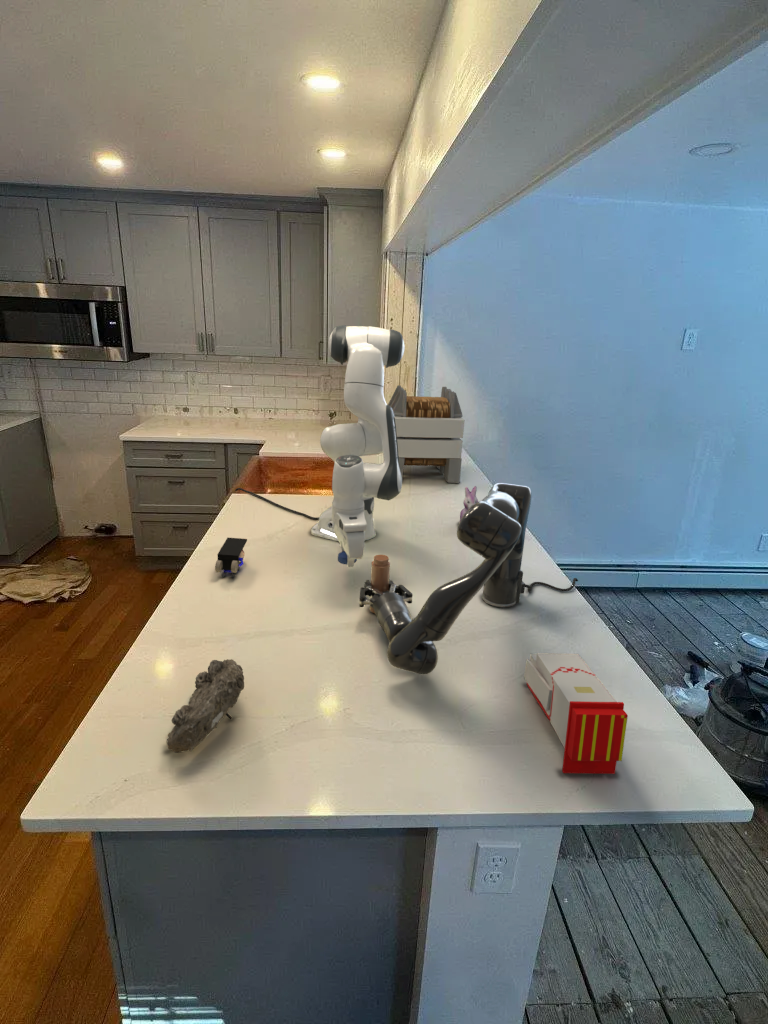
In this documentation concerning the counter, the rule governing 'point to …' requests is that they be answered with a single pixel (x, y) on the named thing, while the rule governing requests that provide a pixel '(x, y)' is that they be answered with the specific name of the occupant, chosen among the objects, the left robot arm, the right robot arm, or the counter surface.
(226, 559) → the black wheeled block
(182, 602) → the counter surface
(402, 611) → the right robot arm
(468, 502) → the figurine
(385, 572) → the jar
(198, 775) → the counter surface
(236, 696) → the fossil
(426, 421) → the transformer
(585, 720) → the toy
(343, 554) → the lid
